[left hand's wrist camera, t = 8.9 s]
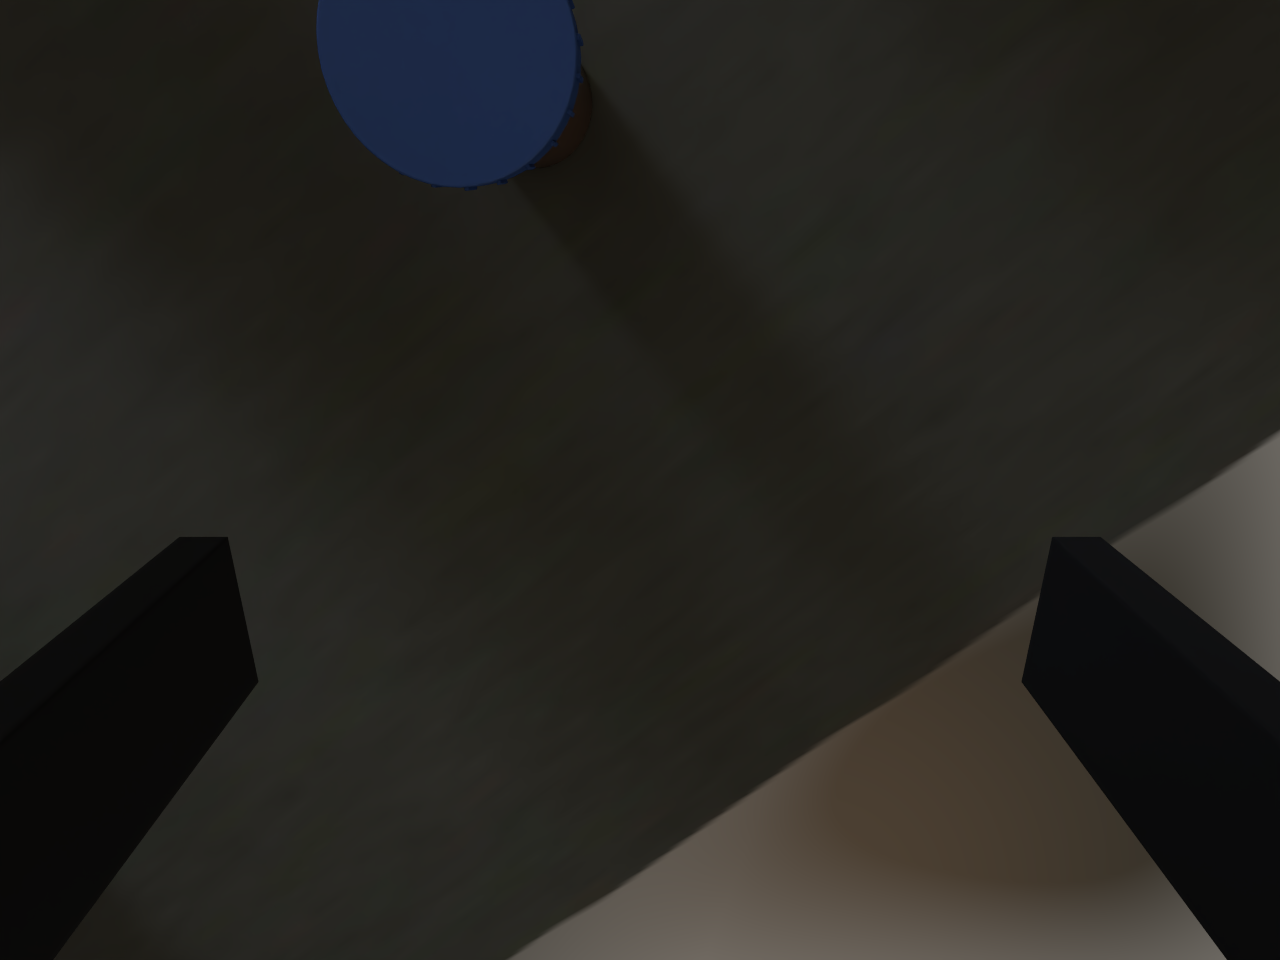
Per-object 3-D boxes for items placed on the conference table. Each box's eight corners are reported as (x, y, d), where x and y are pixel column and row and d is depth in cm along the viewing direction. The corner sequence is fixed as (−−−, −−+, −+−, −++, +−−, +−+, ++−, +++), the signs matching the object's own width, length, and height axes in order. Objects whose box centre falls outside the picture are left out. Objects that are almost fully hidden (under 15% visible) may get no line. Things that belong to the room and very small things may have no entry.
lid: (475, 239, 21) (463, 245, 20) (287, 59, 20) (258, 50, 18) (634, 58, 20) (634, 49, 18) (444, -153, 18) (426, -183, 17)
